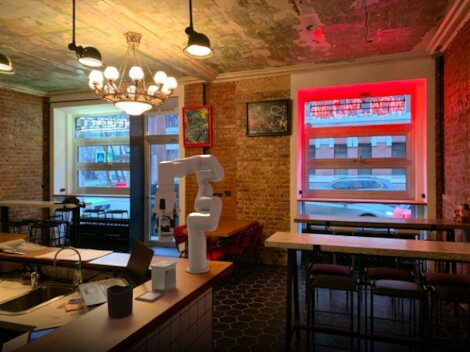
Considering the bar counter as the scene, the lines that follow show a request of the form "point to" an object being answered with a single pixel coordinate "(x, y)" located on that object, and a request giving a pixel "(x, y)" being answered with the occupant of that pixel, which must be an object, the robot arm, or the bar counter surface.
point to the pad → (150, 296)
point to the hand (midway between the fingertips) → (165, 227)
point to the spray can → (164, 224)
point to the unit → (163, 276)
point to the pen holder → (120, 301)
